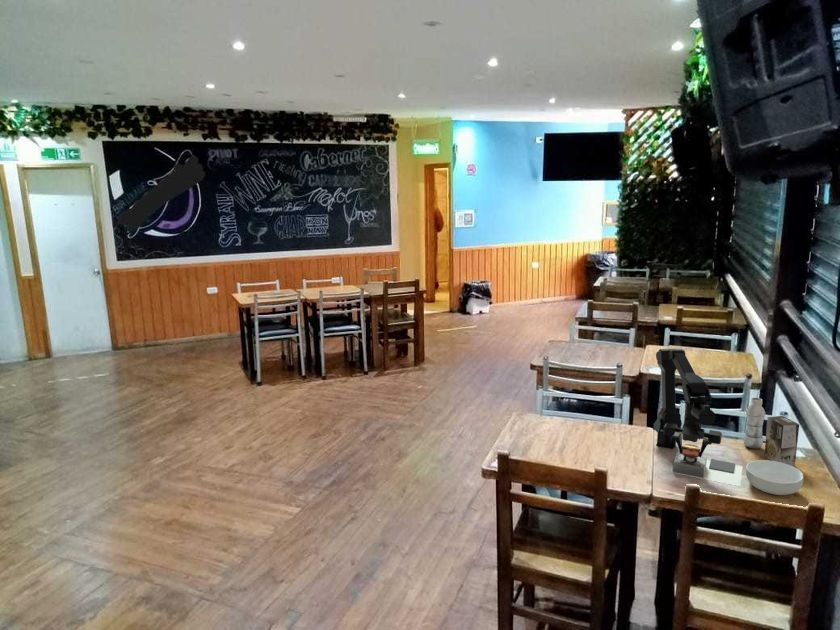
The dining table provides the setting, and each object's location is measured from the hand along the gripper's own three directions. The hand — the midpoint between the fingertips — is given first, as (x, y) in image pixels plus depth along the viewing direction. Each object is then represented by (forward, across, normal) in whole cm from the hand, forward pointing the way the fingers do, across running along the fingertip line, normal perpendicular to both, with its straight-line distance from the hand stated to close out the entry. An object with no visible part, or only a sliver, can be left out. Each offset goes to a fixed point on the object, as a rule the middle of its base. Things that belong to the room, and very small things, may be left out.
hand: (690, 455), depth 211 cm
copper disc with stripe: (+6, 0, 0) cm, 6 cm away
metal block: (+6, 0, 0) cm, 6 cm away
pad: (+6, +10, +8) cm, 14 cm away
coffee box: (+6, +28, +24) cm, 37 cm away
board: (+6, +6, +3) cm, 9 cm away
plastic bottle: (+6, +19, +33) cm, 39 cm away
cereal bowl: (+6, +26, -2) cm, 27 cm away
